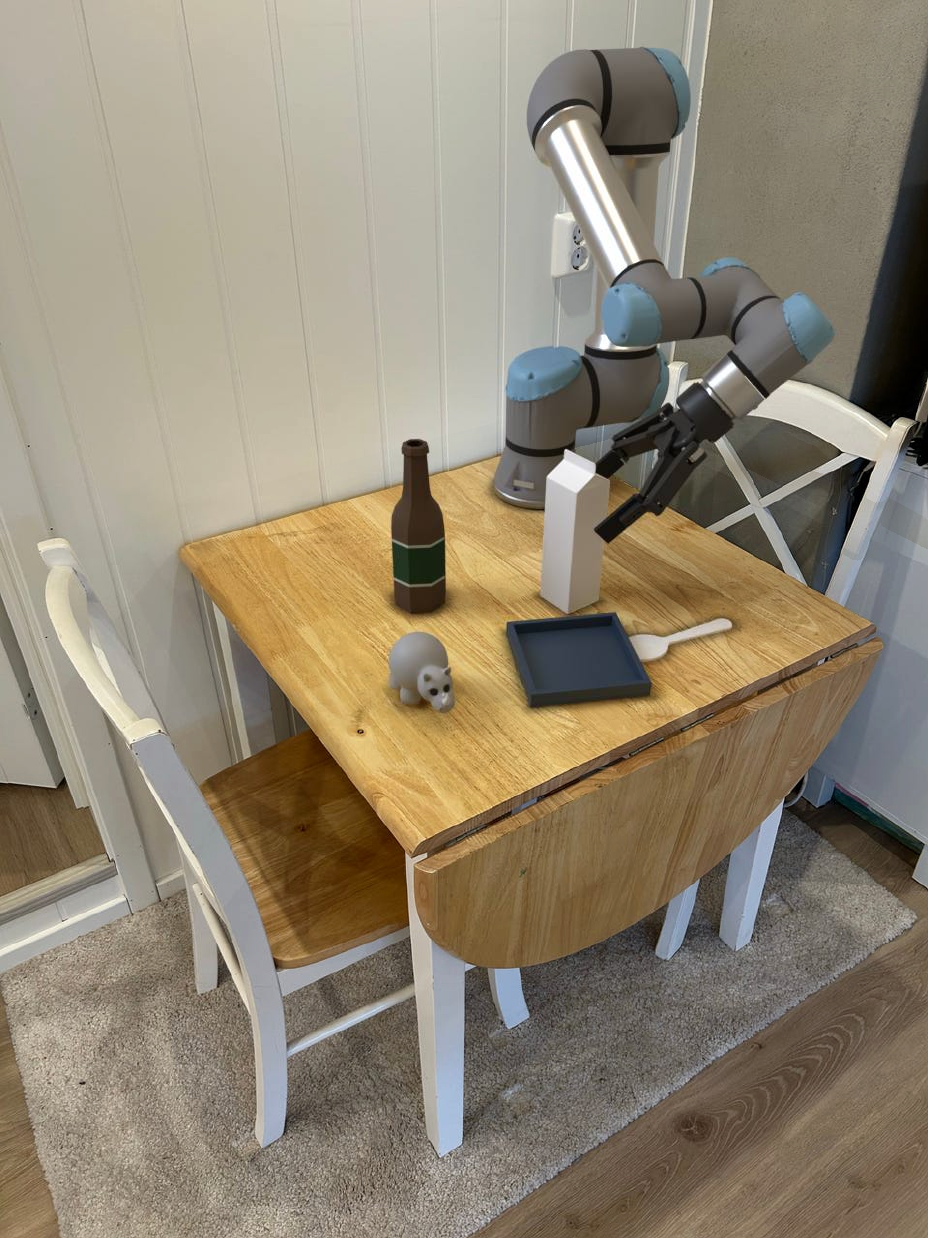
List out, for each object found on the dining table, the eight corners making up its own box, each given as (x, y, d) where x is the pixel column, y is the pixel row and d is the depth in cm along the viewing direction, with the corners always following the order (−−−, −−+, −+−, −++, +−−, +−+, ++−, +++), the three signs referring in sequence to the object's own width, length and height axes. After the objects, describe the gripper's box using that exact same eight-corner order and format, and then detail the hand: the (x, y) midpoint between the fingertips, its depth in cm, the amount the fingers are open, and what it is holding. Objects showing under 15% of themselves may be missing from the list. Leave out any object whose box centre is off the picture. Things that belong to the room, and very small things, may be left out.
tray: (506, 634, 129) (506, 621, 128) (614, 624, 131) (615, 611, 129) (530, 708, 116) (531, 694, 115) (650, 695, 118) (652, 682, 117)
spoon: (742, 634, 129) (742, 630, 129) (628, 668, 123) (629, 665, 123) (717, 613, 133) (718, 610, 133) (606, 645, 127) (607, 642, 127)
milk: (567, 615, 133) (578, 471, 120) (539, 596, 137) (546, 454, 124) (599, 600, 136) (613, 458, 123) (570, 582, 140) (581, 442, 127)
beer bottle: (454, 590, 138) (453, 434, 124) (436, 619, 132) (433, 459, 118) (404, 581, 140) (397, 427, 126) (384, 609, 134) (375, 451, 120)
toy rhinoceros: (418, 742, 111) (416, 685, 106) (381, 684, 120) (378, 628, 115) (474, 725, 113) (474, 668, 109) (434, 669, 122) (433, 614, 118)
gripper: (767, 462, 112) (628, 576, 119) (707, 384, 132) (592, 486, 140) (730, 421, 109) (589, 541, 116) (674, 348, 129) (558, 454, 137)
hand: (590, 511), depth 128 cm, fingers open, 13 cm apart
